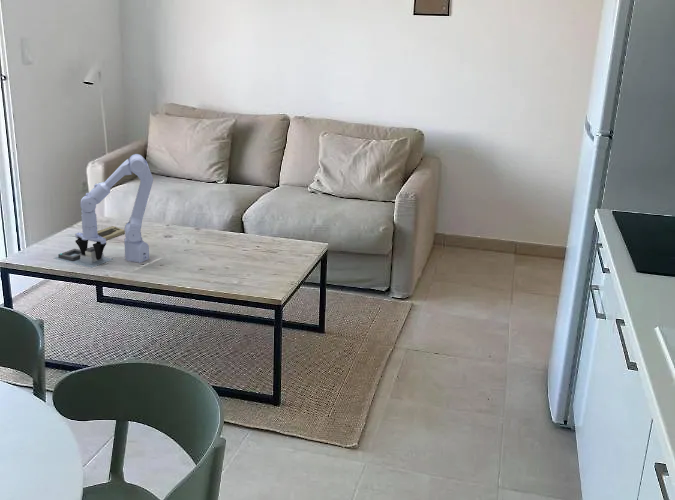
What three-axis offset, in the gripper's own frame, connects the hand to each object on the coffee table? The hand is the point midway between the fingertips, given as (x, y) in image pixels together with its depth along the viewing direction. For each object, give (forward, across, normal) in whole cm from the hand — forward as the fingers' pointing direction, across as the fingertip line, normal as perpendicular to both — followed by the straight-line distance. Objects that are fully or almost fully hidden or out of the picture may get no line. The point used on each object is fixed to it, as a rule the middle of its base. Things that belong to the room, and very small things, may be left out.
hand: (91, 257), depth 295 cm
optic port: (+2, -10, 0) cm, 10 cm away
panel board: (+3, -5, 0) cm, 6 cm away
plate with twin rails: (+2, 0, 0) cm, 2 cm away
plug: (+2, 0, 0) cm, 2 cm away
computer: (+3, -20, +30) cm, 36 cm away
